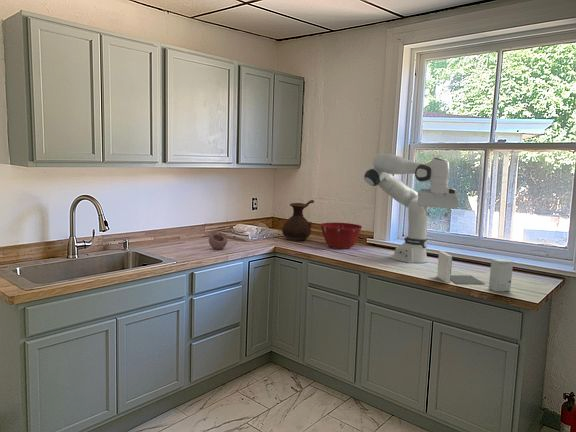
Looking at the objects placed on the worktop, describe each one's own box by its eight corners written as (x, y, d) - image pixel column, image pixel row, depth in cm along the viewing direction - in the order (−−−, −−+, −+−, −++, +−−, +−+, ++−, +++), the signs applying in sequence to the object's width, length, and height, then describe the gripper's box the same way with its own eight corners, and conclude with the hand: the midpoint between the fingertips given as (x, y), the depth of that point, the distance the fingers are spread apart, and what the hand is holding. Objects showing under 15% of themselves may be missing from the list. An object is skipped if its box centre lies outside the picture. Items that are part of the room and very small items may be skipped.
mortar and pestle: (217, 251, 292) (217, 234, 290) (204, 249, 299) (204, 231, 297) (231, 249, 301) (231, 231, 300) (218, 246, 308) (218, 229, 307)
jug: (296, 243, 327) (297, 201, 323) (276, 238, 342) (277, 198, 338) (317, 240, 341) (318, 200, 337) (297, 235, 357) (298, 197, 353)
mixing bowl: (340, 241, 338) (341, 221, 336) (369, 248, 316) (370, 226, 314) (311, 245, 321) (312, 223, 319) (339, 253, 299) (340, 229, 297)
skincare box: (495, 291, 221) (498, 261, 219) (487, 288, 227) (490, 258, 225) (511, 291, 223) (514, 261, 221) (503, 287, 229) (505, 258, 227)
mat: (456, 284, 233) (456, 283, 233) (443, 275, 249) (443, 275, 248) (485, 284, 234) (485, 283, 234) (471, 276, 249) (471, 275, 249)
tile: (446, 282, 234) (448, 256, 233) (437, 276, 246) (439, 251, 244) (450, 283, 235) (452, 256, 233) (441, 276, 246) (443, 251, 245)
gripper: (418, 189, 236) (417, 215, 238) (460, 190, 234) (458, 217, 236) (417, 188, 243) (415, 214, 244) (457, 189, 240) (455, 216, 242)
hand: (436, 216), depth 240 cm, fingers open, 8 cm apart
